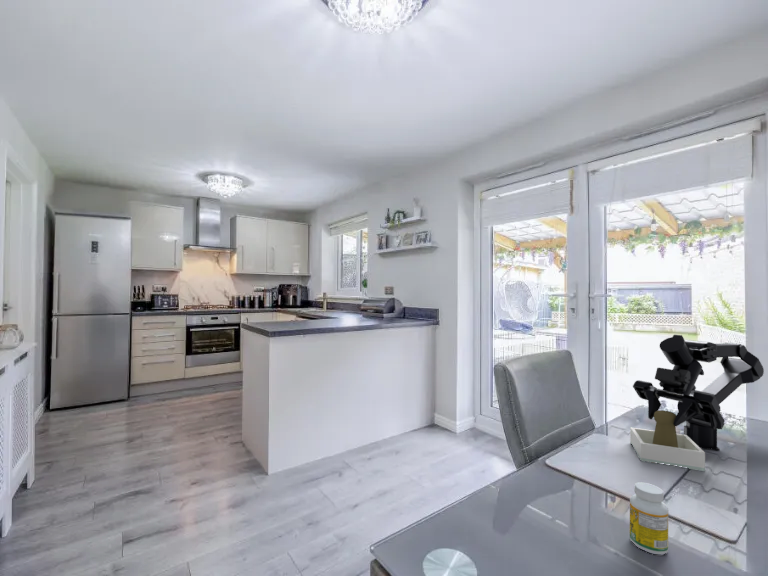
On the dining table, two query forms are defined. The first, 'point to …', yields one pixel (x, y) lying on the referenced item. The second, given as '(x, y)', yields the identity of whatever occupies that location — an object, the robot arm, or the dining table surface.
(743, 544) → the dining table surface
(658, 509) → the supplement bottle
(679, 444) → the open box
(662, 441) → the cork
